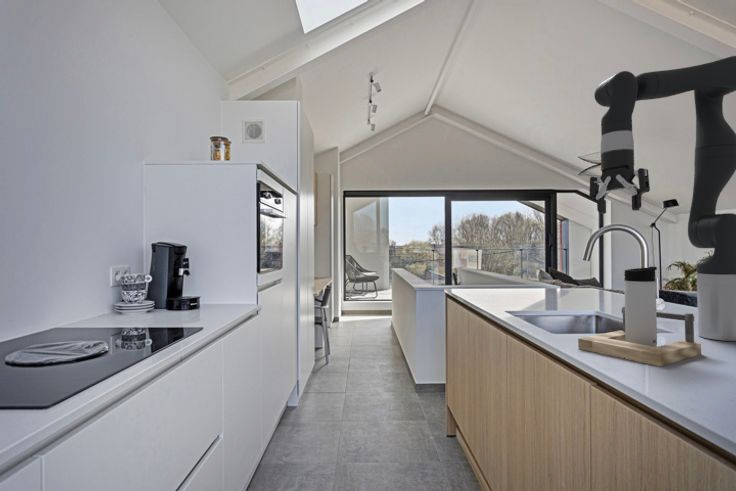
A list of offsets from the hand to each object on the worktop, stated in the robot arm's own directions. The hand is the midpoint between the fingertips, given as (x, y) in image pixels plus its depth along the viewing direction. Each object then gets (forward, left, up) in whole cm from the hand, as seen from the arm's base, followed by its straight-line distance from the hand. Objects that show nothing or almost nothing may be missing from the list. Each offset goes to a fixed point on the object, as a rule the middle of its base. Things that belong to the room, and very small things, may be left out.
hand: (618, 212), depth 107 cm
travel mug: (+6, +8, -34) cm, 36 cm away
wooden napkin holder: (+8, +8, -34) cm, 36 cm away
